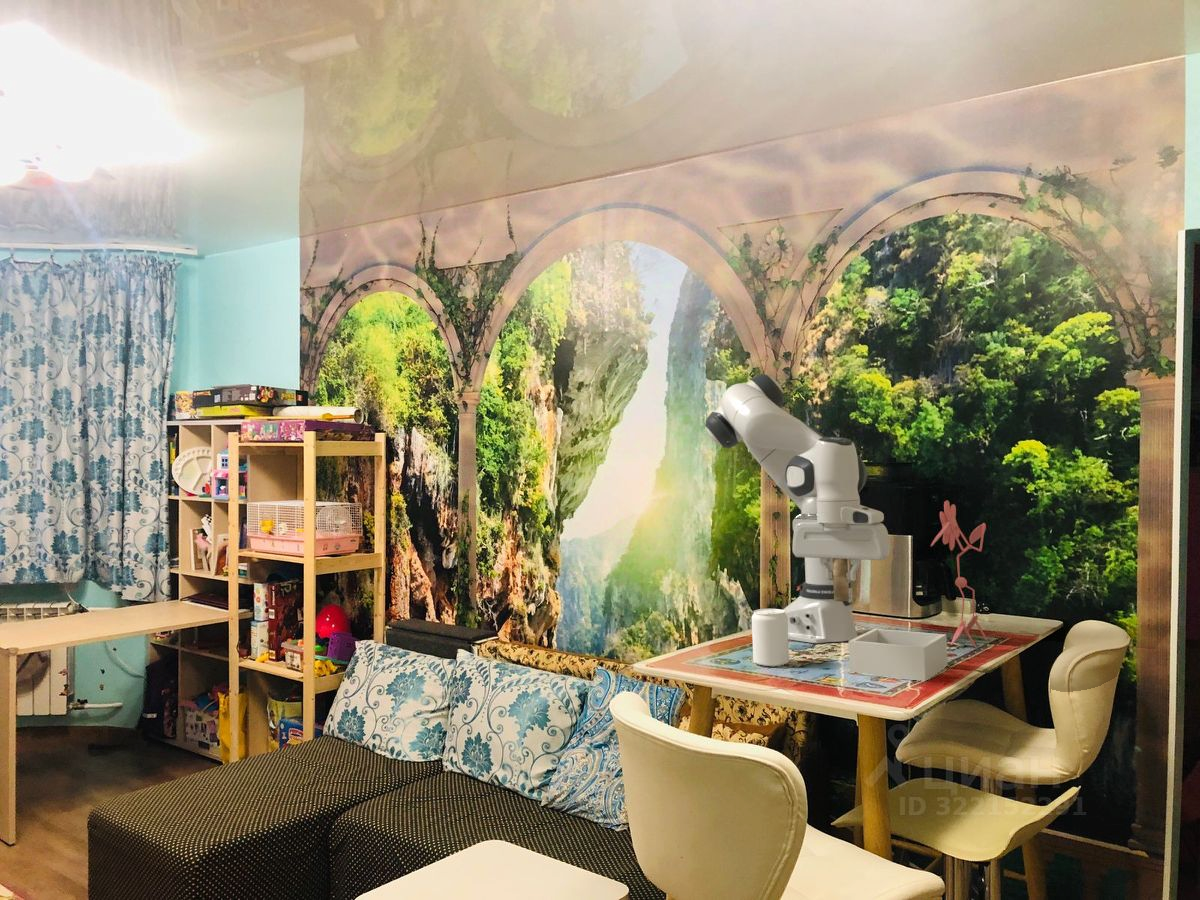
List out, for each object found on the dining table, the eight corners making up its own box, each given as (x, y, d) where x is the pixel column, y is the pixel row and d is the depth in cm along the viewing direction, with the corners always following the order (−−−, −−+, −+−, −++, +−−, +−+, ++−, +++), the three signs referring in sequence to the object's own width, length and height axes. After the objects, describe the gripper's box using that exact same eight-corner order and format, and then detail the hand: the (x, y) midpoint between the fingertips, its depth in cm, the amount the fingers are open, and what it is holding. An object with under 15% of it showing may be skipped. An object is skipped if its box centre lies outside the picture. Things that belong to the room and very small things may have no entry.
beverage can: (746, 662, 210) (744, 610, 210) (776, 658, 213) (773, 607, 213) (766, 669, 202) (764, 615, 202) (796, 664, 205) (794, 611, 205)
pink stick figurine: (1000, 634, 230) (991, 496, 231) (968, 654, 210) (958, 503, 211) (939, 630, 239) (930, 498, 240) (903, 648, 219) (893, 504, 220)
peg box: (849, 673, 195) (848, 641, 195) (875, 659, 208) (874, 628, 208) (925, 682, 186) (923, 648, 186) (947, 666, 199) (946, 634, 199)
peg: (832, 600, 189) (830, 552, 189) (837, 598, 192) (835, 551, 192) (845, 601, 187) (844, 553, 188) (851, 599, 190) (849, 551, 190)
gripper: (786, 514, 193) (788, 579, 193) (880, 515, 181) (883, 584, 181) (798, 512, 199) (800, 575, 198) (891, 513, 186) (893, 580, 186)
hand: (841, 580), depth 190 cm, fingers closed on peg, 3 cm apart
